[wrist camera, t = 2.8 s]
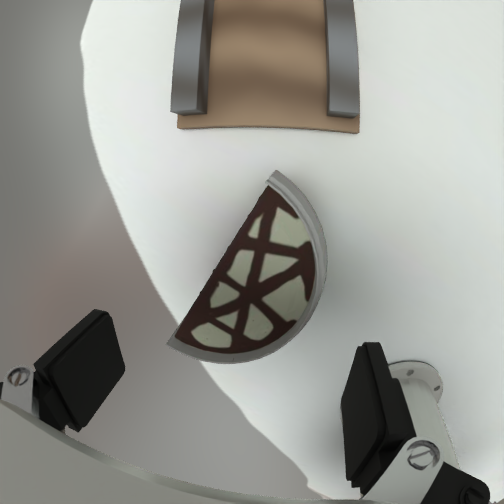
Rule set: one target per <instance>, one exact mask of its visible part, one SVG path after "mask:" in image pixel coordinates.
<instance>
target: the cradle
mask: <svg viewBox="0 0 504 504" xmlns="http://www.w3.org/2000/svg"><path fill="white" fill-rule="evenodd" d="M170 112H173V113H176V114H178V120H177V128H178V129H200V128H228V127H265V128H293V129H310V130H323V131H334V132H343V133H352V134H357V133H359V123H360V94H359V63H358V46H357V33H356V22H355V12H354V4H353V0H181V3H180V10H179V17H178V25H177V34H176V43H175V53H174V64H173V76H172V92H171V111H170Z"/></svg>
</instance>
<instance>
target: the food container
mask: <svg viewBox="0 0 504 504" xmlns="http://www.w3.org/2000/svg"><path fill="white" fill-rule="evenodd" d="M265 183H267V184H268V186H267V188H266V189H265V191H264V192H263V194H262V195H261V196H260V197H259V199H258V201H257V203H256V205H255V207H254V208H253V210H252V211H251V213H250V214H249V215H248V218H247V219H246V221H245V222H244V224H243V225H242V227H241V228H240V230H239V232H238V233H237V235H236V236H235V238H234V240H233V241H232V243H231V245H230V246H229V247H228V248H227V250H226V253H225V254H224V256H223V257H222V259H221V260H220V262H219V264H218V265H217V267H216V268H215V269H214V270H213V273H212V275H211V276H210V278H209V280H208V281H207V283H206V285H205V286H204V288H203V290H202V291H201V292H200V294H199V296H198V297H197V299H196V301H195V302H194V304H193V305H192V307H191V309H190V310H189V312H188V314H187V315H186V316H185V318H184V319H183V321H182V322H181V323H180V325H179V326H178V328H177V329H176V331H175V332H174V333H173V335H172V336H171V338H170V339H169V340H168V342H167V343H166V345H167V346H168V347H170V348H172V349H174V350H175V351H177V352H179V353H181V354H184V355H186V356H188V357H191V358H194V359H198V360H201V361H205V362H211V363H218V364H236V363H244V362H249V361H253V360H256V359H260V358H263V357H265V356H267V355H269V354H271V353H274V352H275V351H277V350H278V349H280V348H281V347H283V346H284V345H286V344H287V343H288V342H289V341H290V340H292V339H293V338H294V337H295V336H296V335H297V334H298V333H299V332H300V331H301V330H302V329H303V327H304V326H305V325H306V323H307V322H308V321H309V319H310V318H311V316H312V314H313V312H314V310H315V308H316V306H317V304H318V301H319V299H320V296H321V293H322V290H323V286H324V283H325V279H326V271H327V250H326V242H325V238H324V234H323V230H322V227H321V224H320V222H319V220H318V218H317V215H316V213H315V211H314V209H313V208H312V206H311V205H310V203H309V202H308V200H307V199H306V197H305V196H304V194H303V193H302V192H301V191H300V190H299V189H298V188H297V187H296V186H295V185H294V184H293V183H292V182H291V180H289V179H288V178H287V177H285V176H284V175H283V174H282V173H280V172H279V171H278V170H276V171H275V172H274V173H273V174H272V175H271V176H270V177H269V179H268V180H267V181H266V182H265Z"/></svg>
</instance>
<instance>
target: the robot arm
mask: <svg viewBox="0 0 504 504" xmlns="http://www.w3.org/2000/svg"><path fill="white" fill-rule="evenodd" d="M34 367H35V369H36V371H35V372H33V370H32V369H31V367H29V366H27V365H18V366H15V367H13V368H11V369H10V370H9V371H8V372H7V373H6V375H5V378H4V382H0V504H497V503H496V502H494V503H491V502H490V501H489V500H490V491H489V488H488V486H487V485H486V484H485V483H484V482H482V481H481V480H479V479H477V478H475V477H473V476H471V475H469V474H467V473H465V472H463V471H461V470H460V467H459V464H458V461H457V458H456V454H455V451H454V448H453V445H452V442H451V440H450V437H449V434H448V431H447V428H446V426H445V423H444V420H443V418H442V415H441V413H440V410H439V407H438V405H437V403H438V402H439V400H440V397H441V395H442V390H443V383H442V380H441V377H440V376H439V374H438V372H437V370H435V369H434V368H433V367H432V366H430V365H428V364H426V363H421V362H402V363H396V364H393V365H389V366H388V364H387V361H386V358H385V355H384V352H383V349H382V347H381V344H380V343H379V342H364V343H363V345H362V346H358V347H357V350H356V353H355V357H354V360H353V364H352V367H351V370H350V374H349V377H348V380H347V383H346V386H345V389H344V392H343V395H342V399H341V408H340V416H341V421H342V424H343V435H344V449H345V465H346V479H347V481H351V486H352V488H356V487H360V493H361V498H360V499H359V500H326V499H320V500H319V499H290V498H278V497H267V496H258V495H249V494H242V493H236V492H230V491H224V490H219V489H214V488H209V487H204V486H200V485H196V484H191V483H188V482H184V481H180V480H176V479H173V478H169V477H166V476H163V475H160V474H156V473H153V472H150V471H147V470H145V469H142V468H139V467H136V466H133V465H130V464H128V463H125V462H123V461H120V460H118V459H116V458H113V457H111V456H108V455H106V454H104V453H101V452H99V451H97V450H95V449H93V448H91V447H89V446H87V445H85V444H82V443H80V442H79V441H76V440H75V439H73V438H71V437H69V436H67V435H66V434H65V426H66V425H68V426H69V428H71V429H73V430H75V431H77V432H79V431H80V430H81V429H82V427H85V426H86V425H87V424H88V423H89V421H90V420H91V418H92V417H93V416H94V414H95V413H96V411H97V410H98V409H99V407H100V406H101V404H102V403H103V402H104V400H105V399H106V397H107V396H108V395H109V393H110V392H111V391H112V389H113V388H114V386H115V385H116V383H117V382H118V381H119V380H120V378H121V377H122V375H123V374H124V372H125V364H124V361H123V358H122V354H121V351H120V347H119V344H118V340H117V336H116V332H115V328H114V325H113V320H112V317H110V315H109V313H108V312H106V311H102V310H97V309H94V310H93V311H92V312H90V313H89V314H88V315H87V316H86V317H85V318H83V319H82V320H81V321H80V322H79V323H78V324H77V325H76V326H74V327H73V328H72V329H71V330H70V331H69V332H68V333H66V334H65V335H64V336H63V337H62V338H61V339H60V340H59V341H58V342H57V343H55V344H54V345H53V346H52V347H51V348H50V349H49V350H48V351H47V352H46V353H45V354H44V355H42V356H41V357H40V358H39V359H38V360H37V361H36V362H35V363H34Z"/></svg>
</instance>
